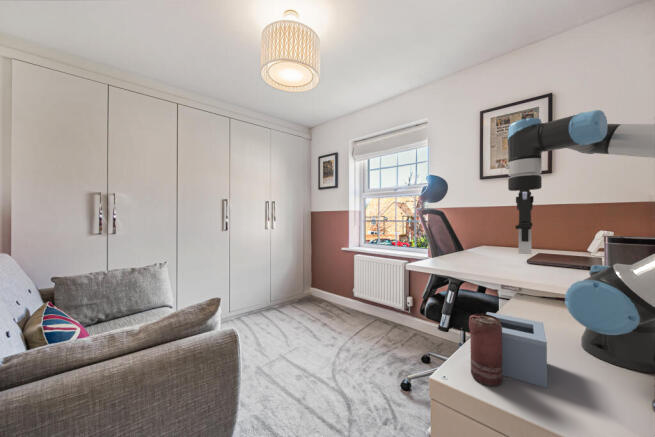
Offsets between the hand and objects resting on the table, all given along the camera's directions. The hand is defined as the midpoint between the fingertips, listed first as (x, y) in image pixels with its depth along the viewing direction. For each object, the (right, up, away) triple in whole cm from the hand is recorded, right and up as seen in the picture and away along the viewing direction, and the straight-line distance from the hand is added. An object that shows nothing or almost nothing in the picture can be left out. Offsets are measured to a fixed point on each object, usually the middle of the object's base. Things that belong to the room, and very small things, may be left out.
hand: (524, 250), depth 73 cm
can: (-20, -28, -15) cm, 37 cm away
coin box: (-11, -27, -10) cm, 31 cm away
